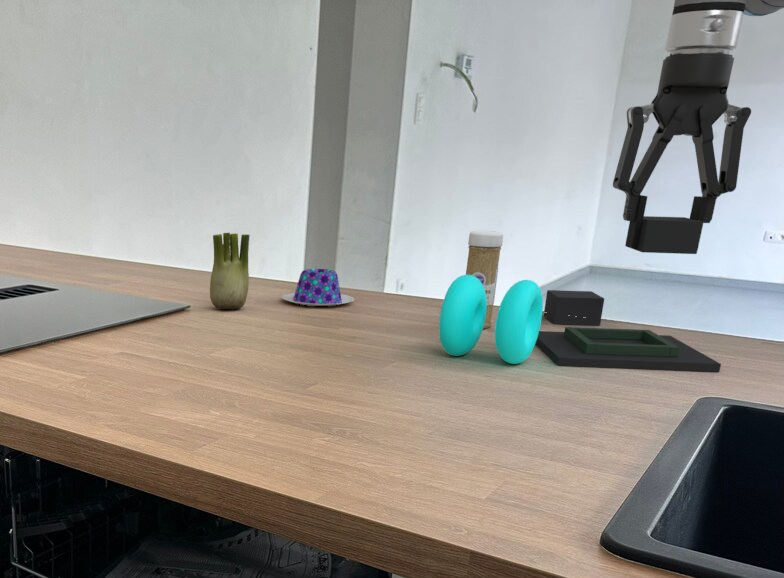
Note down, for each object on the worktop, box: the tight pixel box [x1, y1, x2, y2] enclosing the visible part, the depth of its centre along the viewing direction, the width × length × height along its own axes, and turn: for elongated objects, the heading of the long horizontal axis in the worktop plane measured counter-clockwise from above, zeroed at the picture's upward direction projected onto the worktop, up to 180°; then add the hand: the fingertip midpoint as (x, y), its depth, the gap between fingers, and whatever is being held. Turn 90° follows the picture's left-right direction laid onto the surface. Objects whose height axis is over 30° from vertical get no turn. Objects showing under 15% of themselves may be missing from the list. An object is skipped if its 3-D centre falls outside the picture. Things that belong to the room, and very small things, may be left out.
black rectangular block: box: [631, 215, 704, 255], centre depth 111 cm, size 6×6×4 cm
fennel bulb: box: [209, 232, 250, 310], centre depth 135 cm, size 6×5×12 cm
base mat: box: [535, 326, 722, 373], centre depth 109 cm, size 18×16×2 cm
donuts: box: [438, 274, 544, 365], centre depth 104 cm, size 10×10×10 cm
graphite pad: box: [543, 289, 605, 327], centre depth 129 cm, size 6×6×4 cm
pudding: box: [281, 268, 355, 307], centre depth 143 cm, size 12×12×5 cm
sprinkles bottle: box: [465, 230, 504, 329], centre depth 123 cm, size 5×5×13 cm
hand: (660, 247), depth 112 cm, fingers closed on black rectangular block, 6 cm apart
